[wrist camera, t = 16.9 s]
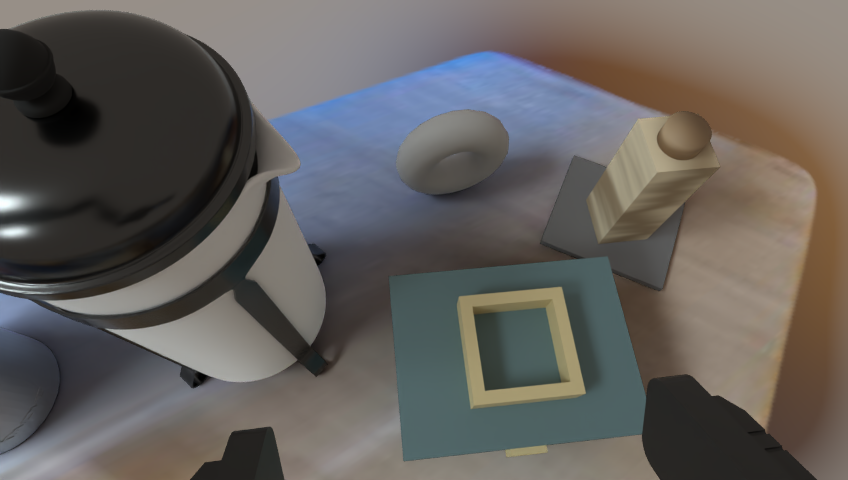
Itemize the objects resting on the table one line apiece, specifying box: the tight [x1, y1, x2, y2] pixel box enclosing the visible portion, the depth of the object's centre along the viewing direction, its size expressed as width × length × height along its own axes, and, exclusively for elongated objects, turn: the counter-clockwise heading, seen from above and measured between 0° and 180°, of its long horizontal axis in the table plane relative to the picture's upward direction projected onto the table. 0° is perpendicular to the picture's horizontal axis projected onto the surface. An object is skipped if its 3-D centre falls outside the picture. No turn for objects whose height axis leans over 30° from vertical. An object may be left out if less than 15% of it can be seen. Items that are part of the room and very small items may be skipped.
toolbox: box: [389, 256, 646, 461], centre depth 37 cm, size 16×13×9 cm
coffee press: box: [0, 10, 328, 388], centre depth 29 cm, size 17×16×30 cm
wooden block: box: [586, 111, 720, 244], centre depth 40 cm, size 4×4×14 cm
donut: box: [396, 110, 509, 195], centre depth 44 cm, size 10×4×10 cm, turn 105°
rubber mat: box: [540, 155, 685, 291], centre depth 47 cm, size 11×10×1 cm
